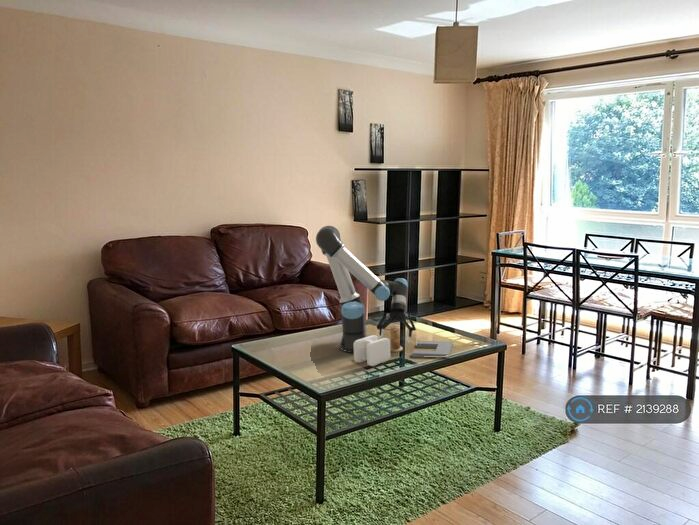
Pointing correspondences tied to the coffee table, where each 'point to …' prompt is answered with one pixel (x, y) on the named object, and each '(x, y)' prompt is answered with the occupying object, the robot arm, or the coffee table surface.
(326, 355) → the coffee table surface
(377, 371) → the coffee table surface
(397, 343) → the bobbin
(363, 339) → the cable organizer
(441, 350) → the notched board
